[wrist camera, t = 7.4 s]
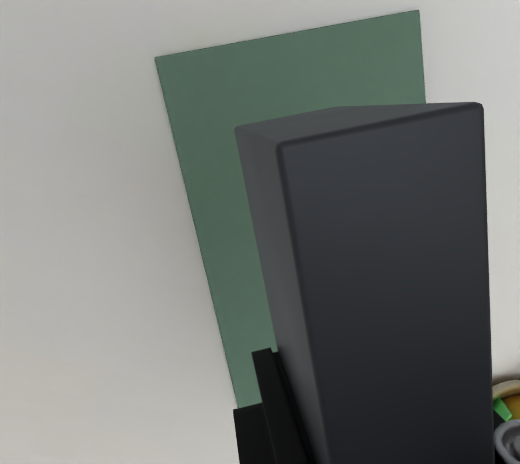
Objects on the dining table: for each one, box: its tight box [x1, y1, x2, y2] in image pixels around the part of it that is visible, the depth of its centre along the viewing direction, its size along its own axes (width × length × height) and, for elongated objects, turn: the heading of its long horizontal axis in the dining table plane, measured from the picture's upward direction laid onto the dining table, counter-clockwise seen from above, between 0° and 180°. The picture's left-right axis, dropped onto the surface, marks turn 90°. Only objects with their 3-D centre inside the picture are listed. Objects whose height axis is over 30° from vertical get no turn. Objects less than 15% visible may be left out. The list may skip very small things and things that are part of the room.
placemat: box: [155, 10, 426, 408], centre depth 24 cm, size 20×13×1 cm, turn 11°
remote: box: [234, 102, 495, 464], centre depth 9 cm, size 14×3×5 cm, turn 10°
